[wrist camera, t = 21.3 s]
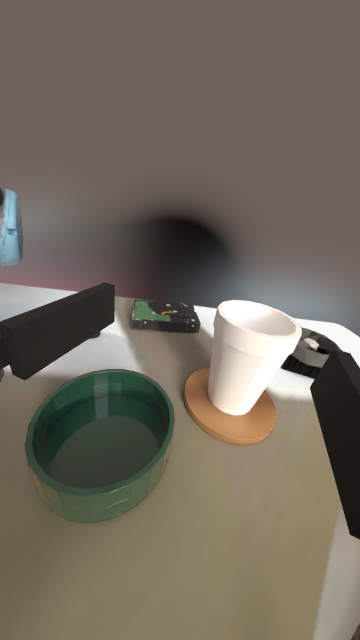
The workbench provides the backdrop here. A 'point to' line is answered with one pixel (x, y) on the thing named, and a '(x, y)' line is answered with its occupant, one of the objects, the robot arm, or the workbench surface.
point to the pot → (100, 444)
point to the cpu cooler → (309, 354)
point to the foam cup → (247, 352)
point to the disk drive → (164, 316)
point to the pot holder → (223, 424)
